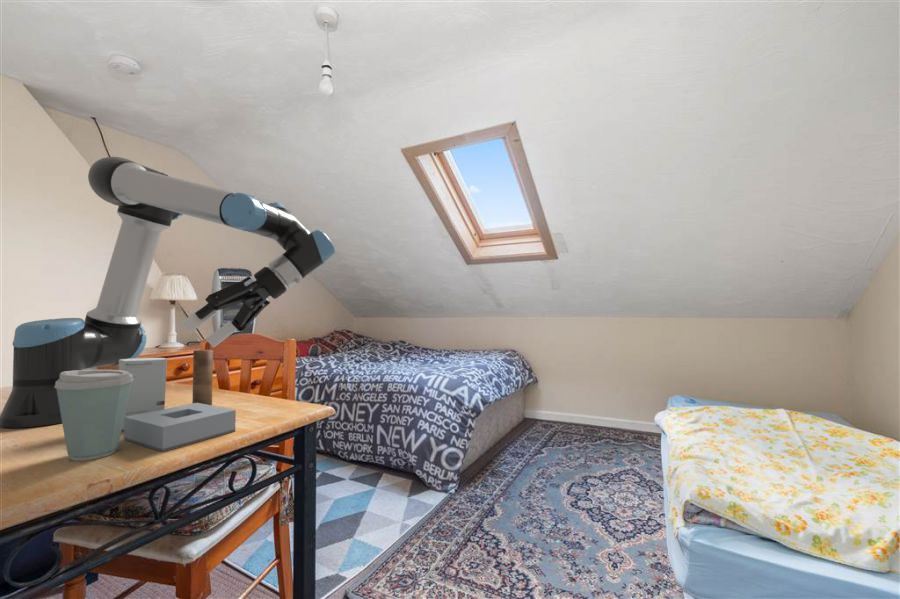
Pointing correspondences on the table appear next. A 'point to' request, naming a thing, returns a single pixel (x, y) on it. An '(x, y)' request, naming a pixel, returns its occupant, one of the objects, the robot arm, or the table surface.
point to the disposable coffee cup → (92, 411)
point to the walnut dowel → (202, 376)
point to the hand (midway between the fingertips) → (197, 336)
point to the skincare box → (145, 385)
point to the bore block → (179, 426)
